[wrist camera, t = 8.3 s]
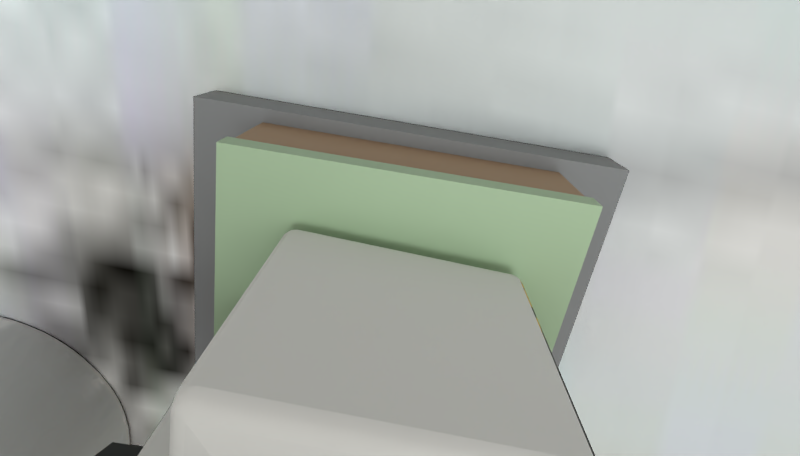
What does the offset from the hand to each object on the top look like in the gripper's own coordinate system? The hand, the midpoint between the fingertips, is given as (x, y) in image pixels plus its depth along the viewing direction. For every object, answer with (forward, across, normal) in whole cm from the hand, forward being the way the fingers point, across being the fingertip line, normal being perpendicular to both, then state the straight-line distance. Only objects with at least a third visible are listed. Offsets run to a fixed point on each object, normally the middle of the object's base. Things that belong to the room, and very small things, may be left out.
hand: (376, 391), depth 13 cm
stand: (+9, 0, 0) cm, 9 cm away
